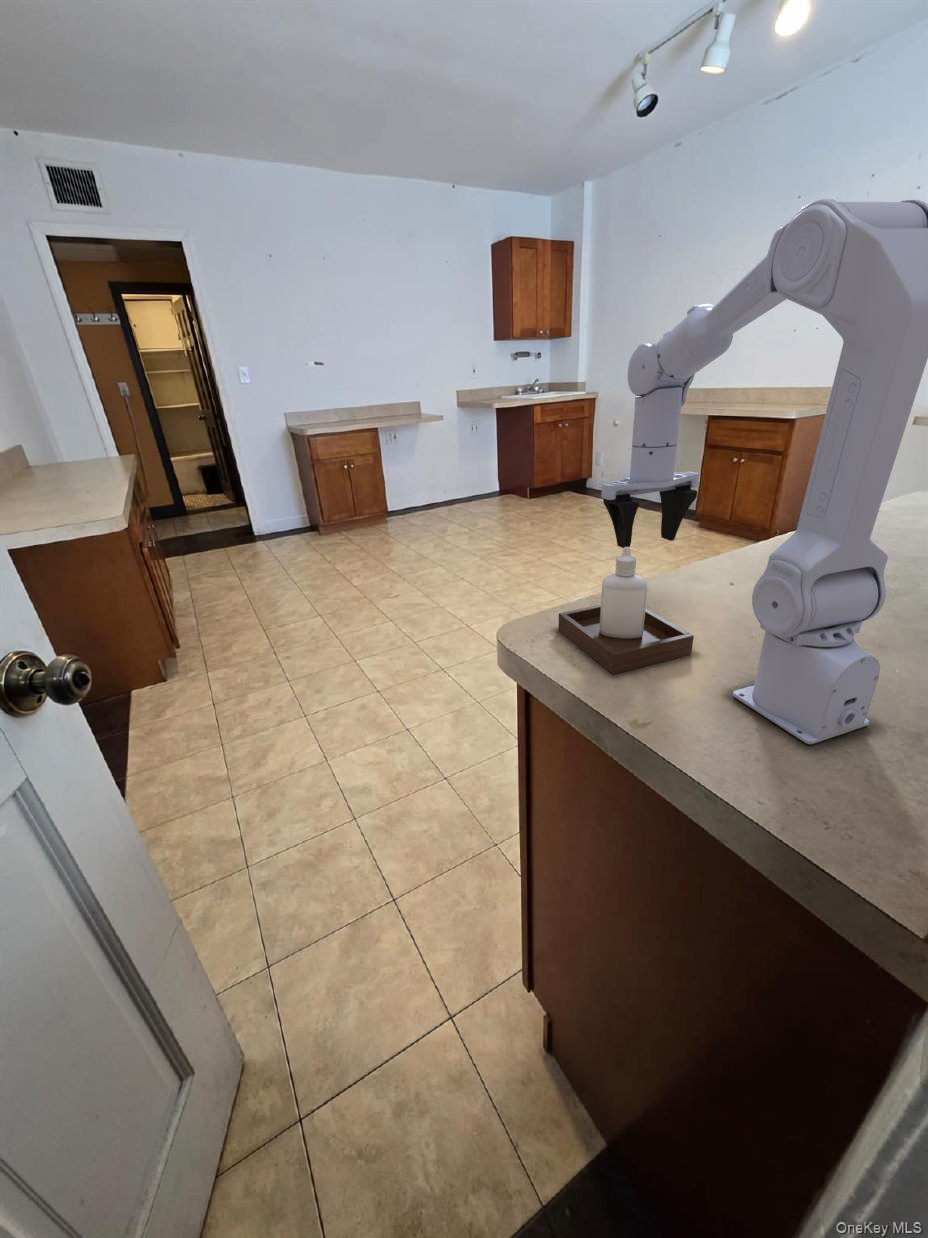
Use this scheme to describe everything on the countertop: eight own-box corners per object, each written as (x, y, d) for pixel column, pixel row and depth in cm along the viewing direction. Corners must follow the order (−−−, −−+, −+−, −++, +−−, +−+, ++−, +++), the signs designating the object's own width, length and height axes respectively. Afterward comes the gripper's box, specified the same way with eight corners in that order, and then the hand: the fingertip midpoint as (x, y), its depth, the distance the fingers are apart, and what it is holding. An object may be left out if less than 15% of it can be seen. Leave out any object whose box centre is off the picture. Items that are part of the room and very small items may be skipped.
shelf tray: (691, 654, 65) (694, 635, 64) (612, 674, 62) (614, 655, 61) (627, 615, 77) (628, 598, 76) (558, 630, 74) (558, 613, 73)
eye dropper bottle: (631, 645, 66) (639, 556, 61) (593, 633, 69) (597, 548, 64) (648, 633, 68) (656, 547, 63) (611, 622, 72) (616, 540, 67)
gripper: (678, 437, 74) (668, 529, 80) (590, 447, 70) (587, 543, 76) (715, 441, 68) (701, 540, 74) (621, 452, 64) (615, 556, 70)
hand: (645, 542), depth 74 cm, fingers open, 7 cm apart
